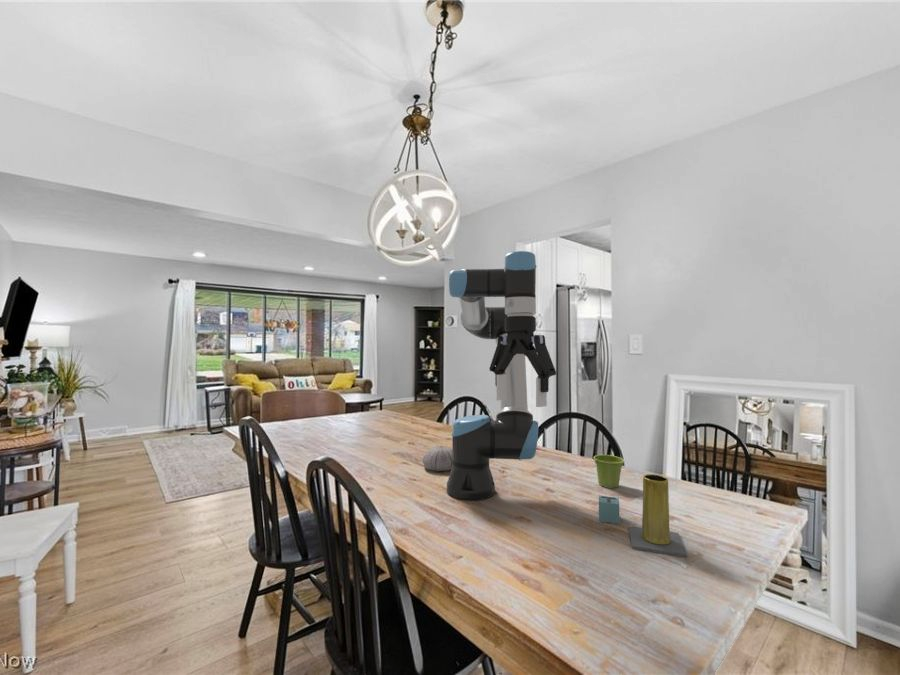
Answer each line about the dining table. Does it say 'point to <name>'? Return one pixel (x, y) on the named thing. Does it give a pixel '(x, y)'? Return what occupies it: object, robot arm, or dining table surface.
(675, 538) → the slate mat
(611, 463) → the plant pot
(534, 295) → the robot arm
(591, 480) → the dining table surface
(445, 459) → the sea urchin shell
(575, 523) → the dining table surface
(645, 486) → the vase
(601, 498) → the letter cube
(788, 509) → the dining table surface
